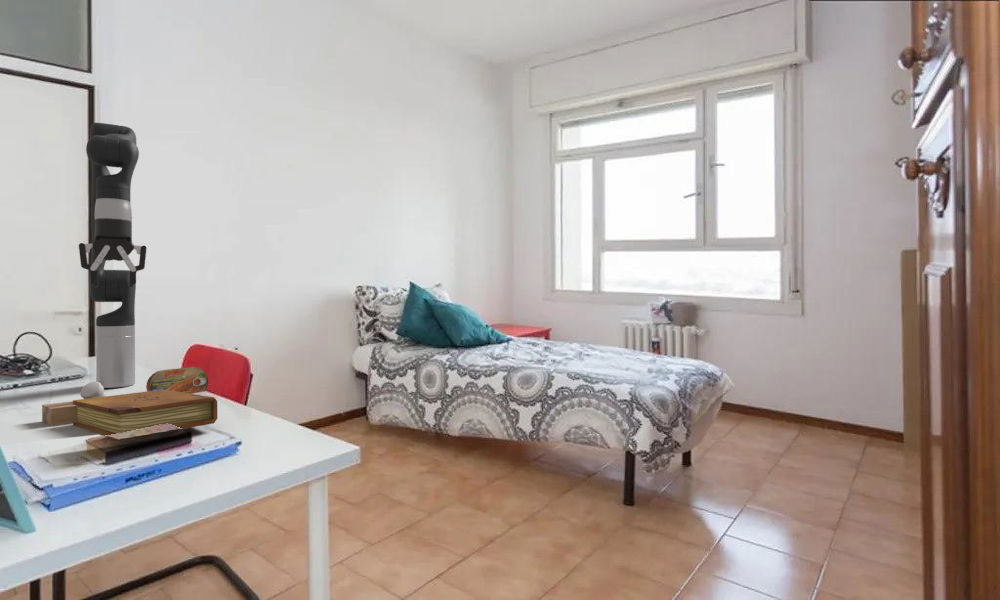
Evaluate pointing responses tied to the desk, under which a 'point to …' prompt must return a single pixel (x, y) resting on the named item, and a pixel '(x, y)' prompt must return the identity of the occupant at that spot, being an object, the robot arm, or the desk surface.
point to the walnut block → (59, 413)
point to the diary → (144, 411)
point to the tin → (179, 380)
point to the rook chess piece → (92, 390)
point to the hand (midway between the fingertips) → (113, 286)
